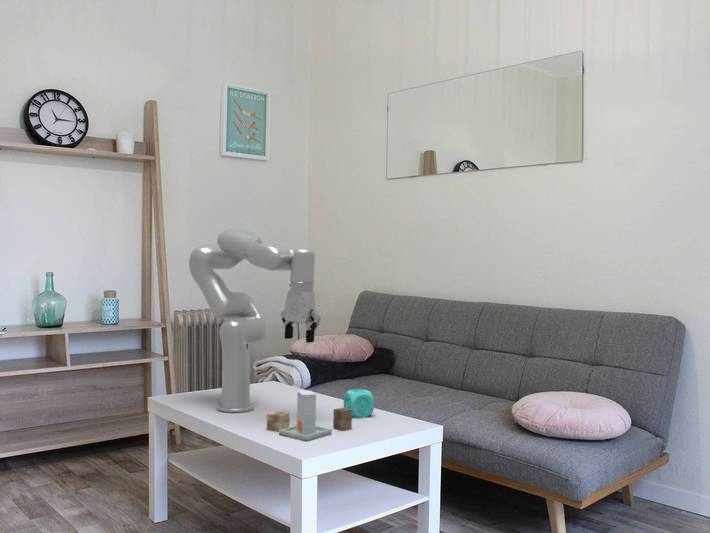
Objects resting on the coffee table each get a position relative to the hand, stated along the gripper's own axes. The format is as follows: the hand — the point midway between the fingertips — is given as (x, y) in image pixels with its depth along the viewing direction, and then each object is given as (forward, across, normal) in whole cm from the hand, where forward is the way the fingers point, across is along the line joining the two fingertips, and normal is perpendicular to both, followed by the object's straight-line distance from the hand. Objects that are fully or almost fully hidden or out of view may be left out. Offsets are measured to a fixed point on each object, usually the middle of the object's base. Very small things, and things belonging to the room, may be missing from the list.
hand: (299, 340), depth 217 cm
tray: (+26, +15, -10) cm, 31 cm away
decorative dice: (+26, +10, +20) cm, 34 cm away
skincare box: (+25, +15, -10) cm, 31 cm away
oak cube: (+26, +4, -12) cm, 29 cm away
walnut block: (+25, +18, +3) cm, 31 cm away
